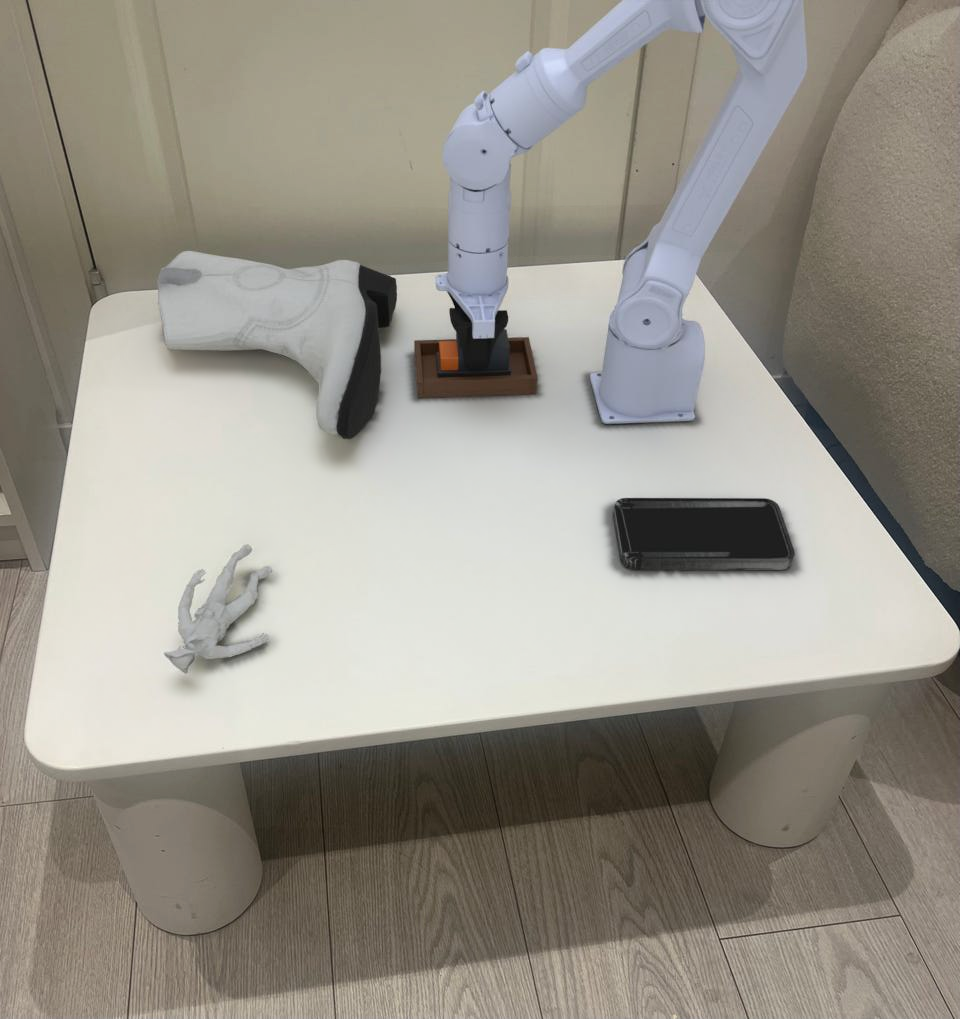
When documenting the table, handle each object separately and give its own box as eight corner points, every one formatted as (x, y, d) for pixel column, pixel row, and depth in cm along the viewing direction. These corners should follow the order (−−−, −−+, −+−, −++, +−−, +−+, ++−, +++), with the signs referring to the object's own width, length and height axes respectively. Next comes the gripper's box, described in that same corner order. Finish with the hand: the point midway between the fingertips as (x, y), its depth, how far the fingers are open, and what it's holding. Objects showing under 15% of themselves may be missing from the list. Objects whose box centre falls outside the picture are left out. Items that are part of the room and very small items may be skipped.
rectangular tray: (527, 352, 109) (528, 336, 108) (536, 394, 104) (537, 377, 103) (414, 356, 108) (414, 340, 107) (417, 398, 103) (417, 381, 102)
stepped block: (506, 357, 107) (508, 327, 105) (510, 378, 105) (512, 348, 102) (436, 359, 107) (436, 329, 104) (438, 380, 104) (438, 350, 101)
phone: (612, 497, 92) (776, 498, 92) (611, 506, 92) (773, 506, 93) (624, 561, 86) (798, 561, 87) (622, 570, 87) (795, 570, 87)
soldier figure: (298, 594, 85) (250, 676, 75) (259, 622, 87) (207, 706, 76) (234, 527, 83) (176, 601, 73) (195, 557, 85) (132, 634, 74)
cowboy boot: (404, 242, 110) (178, 226, 111) (356, 378, 89) (78, 356, 90) (406, 319, 116) (191, 304, 117) (361, 464, 95) (100, 443, 96)
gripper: (431, 201, 100) (431, 317, 109) (440, 280, 89) (440, 401, 99) (502, 199, 100) (496, 315, 110) (520, 278, 90) (511, 399, 100)
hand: (474, 356), depth 104 cm, fingers closed on stepped block, 3 cm apart
